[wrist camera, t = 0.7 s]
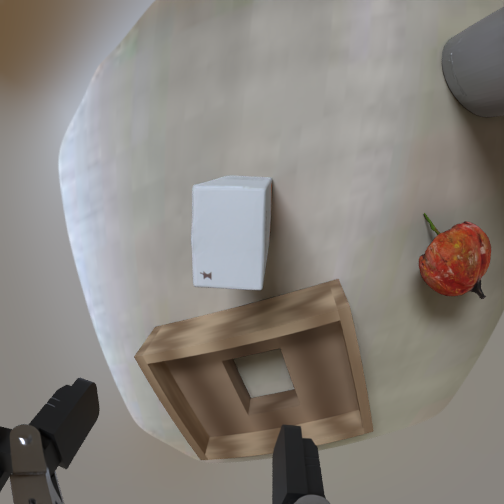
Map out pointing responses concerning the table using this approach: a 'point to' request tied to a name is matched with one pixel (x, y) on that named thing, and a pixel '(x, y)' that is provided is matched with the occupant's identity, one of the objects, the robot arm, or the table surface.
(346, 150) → the table surface
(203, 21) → the table surface
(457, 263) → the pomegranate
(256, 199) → the skincare box
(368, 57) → the table surface
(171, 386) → the crate
